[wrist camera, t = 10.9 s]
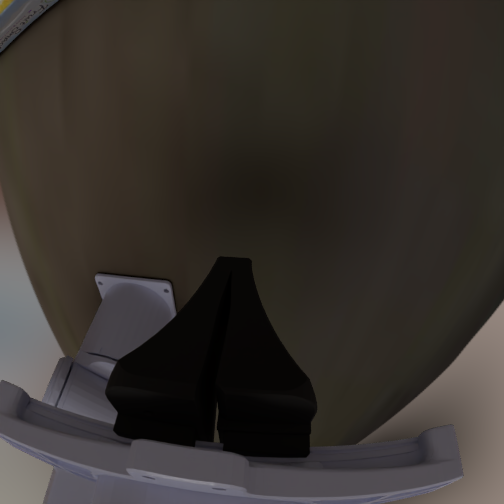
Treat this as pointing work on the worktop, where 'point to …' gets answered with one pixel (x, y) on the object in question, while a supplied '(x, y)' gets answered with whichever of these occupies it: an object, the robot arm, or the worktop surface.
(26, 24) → the snack box
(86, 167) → the worktop surface
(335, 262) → the worktop surface
